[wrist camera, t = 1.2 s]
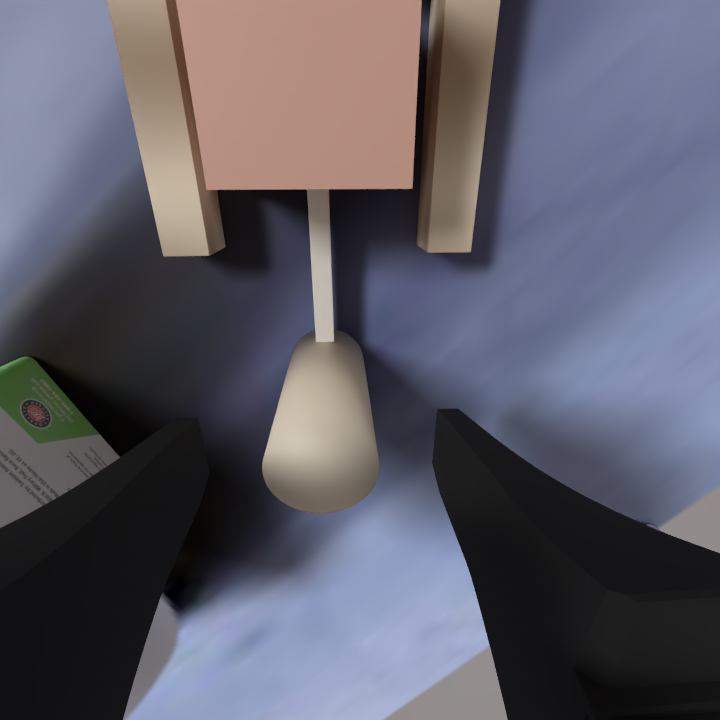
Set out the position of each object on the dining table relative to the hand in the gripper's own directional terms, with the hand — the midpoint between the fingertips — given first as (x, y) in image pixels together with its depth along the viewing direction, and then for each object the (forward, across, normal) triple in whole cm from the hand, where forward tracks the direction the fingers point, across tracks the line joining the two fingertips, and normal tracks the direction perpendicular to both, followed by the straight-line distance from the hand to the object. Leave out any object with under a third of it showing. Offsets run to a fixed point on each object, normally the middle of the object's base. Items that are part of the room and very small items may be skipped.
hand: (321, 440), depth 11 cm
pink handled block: (+6, 0, -5) cm, 8 cm away
